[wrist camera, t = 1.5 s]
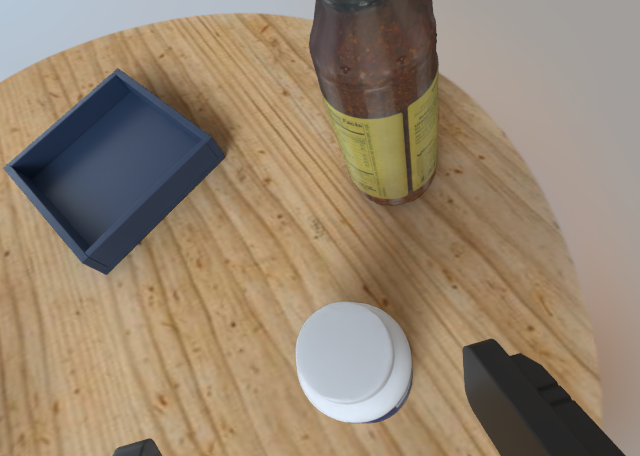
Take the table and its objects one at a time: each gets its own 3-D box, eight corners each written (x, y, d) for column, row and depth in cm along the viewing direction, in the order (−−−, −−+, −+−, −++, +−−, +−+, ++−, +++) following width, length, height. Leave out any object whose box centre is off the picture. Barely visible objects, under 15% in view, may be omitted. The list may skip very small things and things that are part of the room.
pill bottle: (312, 405, 25) (258, 395, 17) (338, 320, 27) (301, 270, 18) (400, 437, 24) (391, 444, 15) (421, 344, 25) (424, 302, 17)
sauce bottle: (413, 127, 32) (410, -231, 15) (451, 190, 29) (503, -161, 12) (335, 159, 32) (238, -154, 15) (365, 225, 30) (289, -68, 12)
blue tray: (135, 88, 41) (117, 67, 39) (226, 156, 35) (211, 136, 32) (28, 183, 38) (2, 167, 36) (106, 275, 32) (81, 263, 30)
